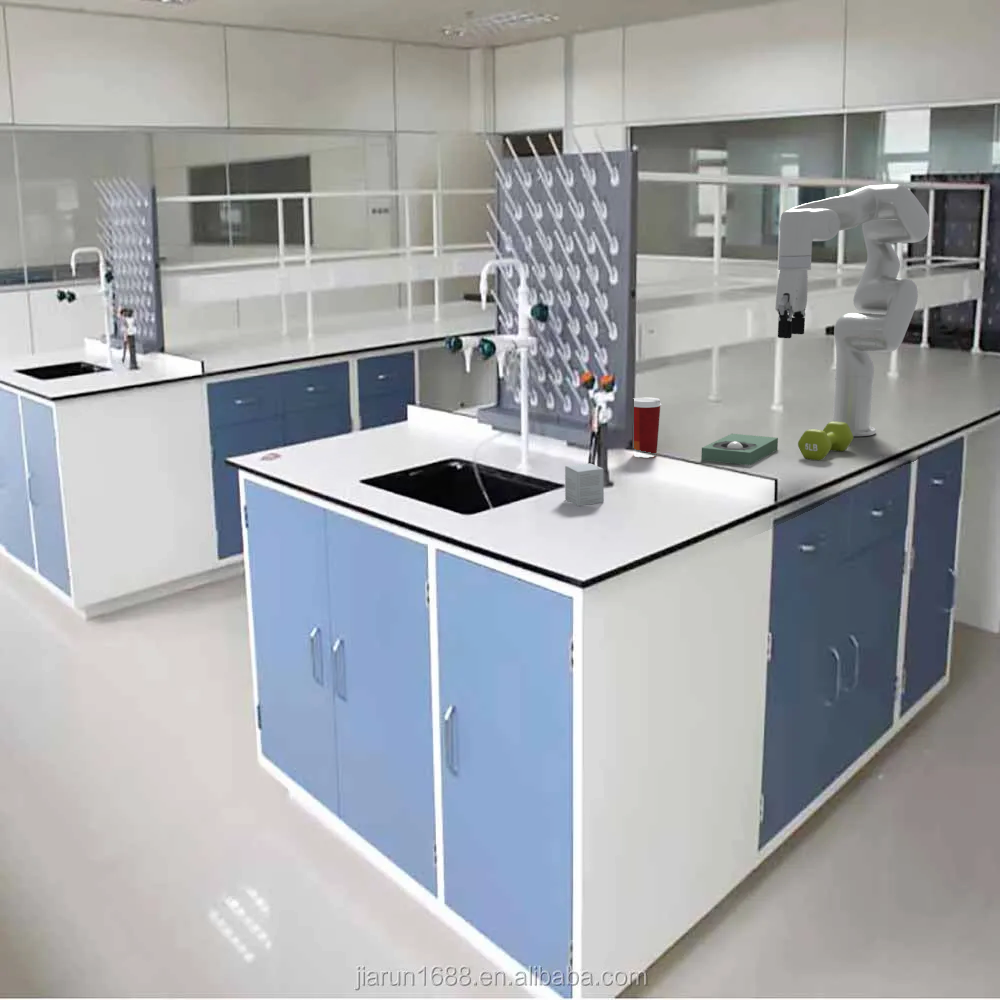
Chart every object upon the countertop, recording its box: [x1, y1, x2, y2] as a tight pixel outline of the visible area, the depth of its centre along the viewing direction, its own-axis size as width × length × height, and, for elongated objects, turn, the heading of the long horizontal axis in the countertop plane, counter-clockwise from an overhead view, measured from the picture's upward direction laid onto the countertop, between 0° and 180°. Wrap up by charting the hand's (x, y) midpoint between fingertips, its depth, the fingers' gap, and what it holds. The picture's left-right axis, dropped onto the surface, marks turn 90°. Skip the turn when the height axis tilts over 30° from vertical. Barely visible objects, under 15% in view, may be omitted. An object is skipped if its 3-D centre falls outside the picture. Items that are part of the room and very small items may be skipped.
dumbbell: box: [797, 420, 854, 461], centre depth 258 cm, size 16×8×7 cm, turn 138°
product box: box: [564, 462, 605, 507], centre depth 219 cm, size 6×6×7 cm
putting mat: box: [700, 433, 779, 466], centre depth 260 cm, size 20×12×3 cm, turn 147°
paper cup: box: [633, 396, 663, 453], centre depth 259 cm, size 8×8×14 cm
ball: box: [727, 441, 743, 448], centre depth 256 cm, size 4×4×4 cm
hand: (791, 335), depth 257 cm, fingers open, 9 cm apart
